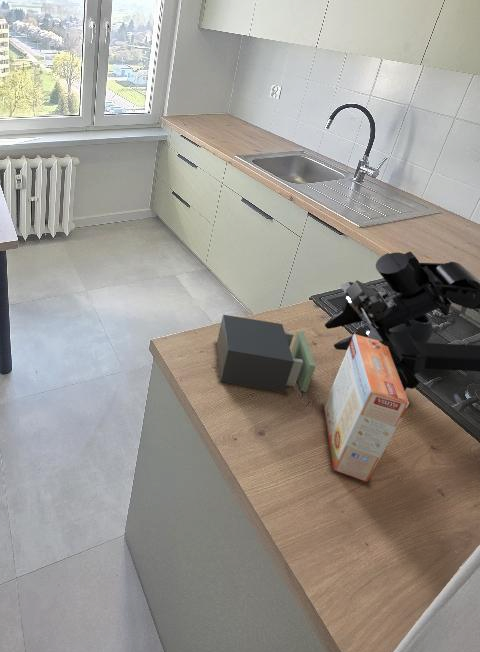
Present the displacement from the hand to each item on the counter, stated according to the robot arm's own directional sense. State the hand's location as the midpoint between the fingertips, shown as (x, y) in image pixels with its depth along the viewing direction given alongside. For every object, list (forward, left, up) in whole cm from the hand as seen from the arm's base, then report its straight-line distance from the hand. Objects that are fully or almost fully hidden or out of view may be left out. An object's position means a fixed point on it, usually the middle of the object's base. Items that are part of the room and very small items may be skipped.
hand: (330, 336), depth 89 cm
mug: (+8, -28, -13) cm, 32 cm away
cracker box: (-15, +2, -13) cm, 19 cm away
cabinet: (+3, +14, -13) cm, 19 cm away
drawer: (+2, +9, -12) cm, 15 cm away
